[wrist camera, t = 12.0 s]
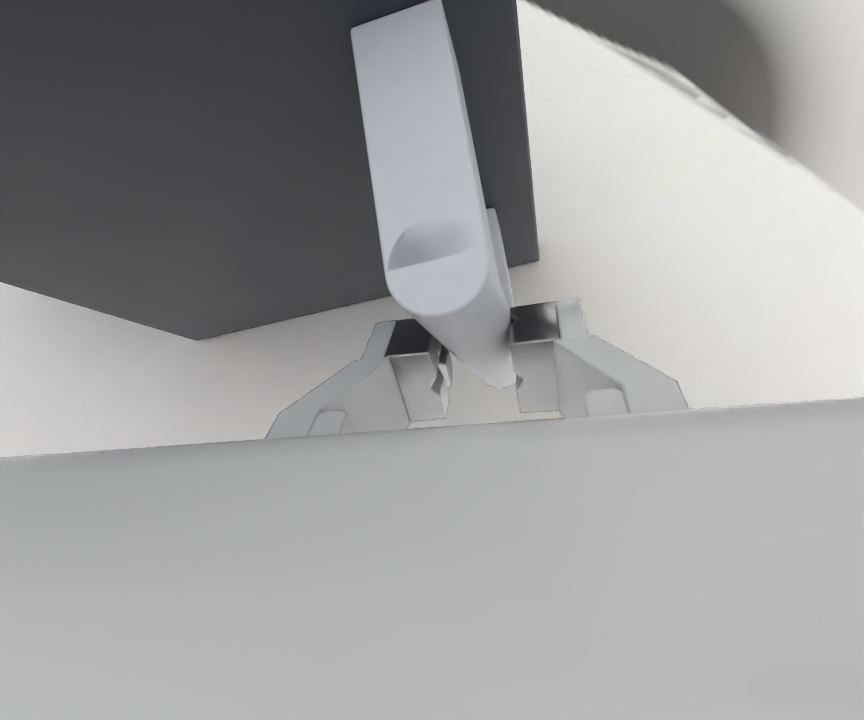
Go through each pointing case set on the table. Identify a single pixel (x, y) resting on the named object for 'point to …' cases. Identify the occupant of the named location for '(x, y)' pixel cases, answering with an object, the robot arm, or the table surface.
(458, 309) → the cabinet door
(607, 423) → the robot arm
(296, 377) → the table surface
